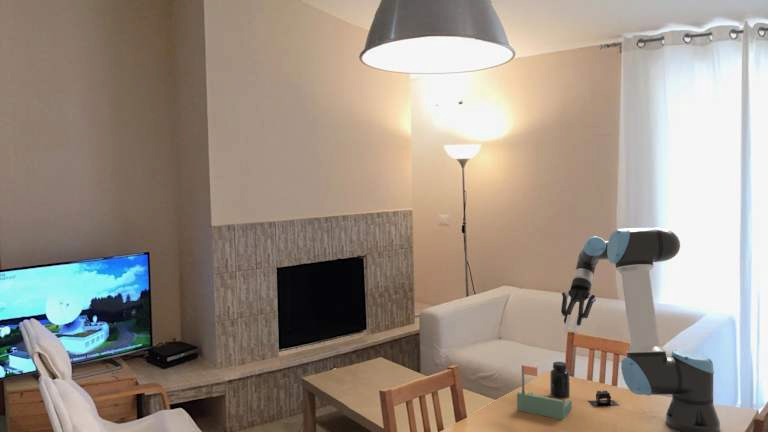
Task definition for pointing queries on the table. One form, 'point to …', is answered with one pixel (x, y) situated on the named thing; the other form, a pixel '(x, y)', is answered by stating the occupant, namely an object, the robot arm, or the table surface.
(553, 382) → the supplement bottle
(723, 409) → the table surface
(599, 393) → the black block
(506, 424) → the table surface
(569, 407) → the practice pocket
